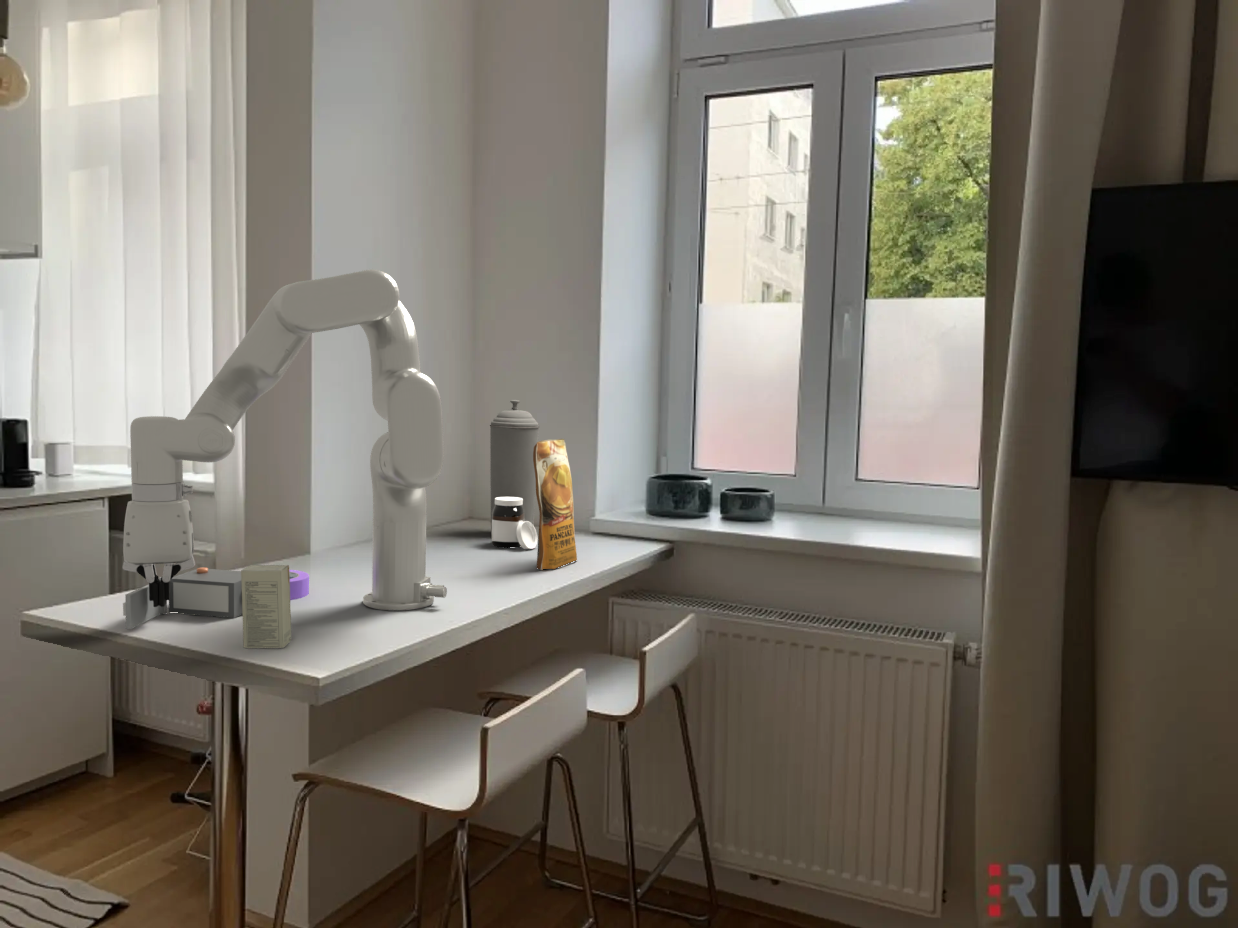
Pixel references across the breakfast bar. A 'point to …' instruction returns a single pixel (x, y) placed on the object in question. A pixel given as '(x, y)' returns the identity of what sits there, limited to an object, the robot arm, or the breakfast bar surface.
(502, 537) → the spread jar
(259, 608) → the skincare box
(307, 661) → the breakfast bar surface
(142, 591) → the side door
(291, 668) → the breakfast bar surface
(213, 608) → the toy microwave oven
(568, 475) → the pancake mix bag
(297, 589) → the masking tape
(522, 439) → the canister
